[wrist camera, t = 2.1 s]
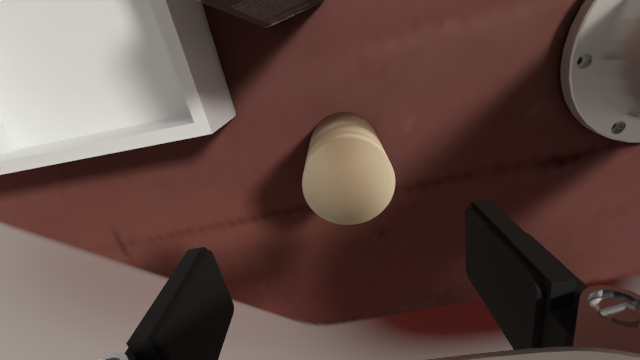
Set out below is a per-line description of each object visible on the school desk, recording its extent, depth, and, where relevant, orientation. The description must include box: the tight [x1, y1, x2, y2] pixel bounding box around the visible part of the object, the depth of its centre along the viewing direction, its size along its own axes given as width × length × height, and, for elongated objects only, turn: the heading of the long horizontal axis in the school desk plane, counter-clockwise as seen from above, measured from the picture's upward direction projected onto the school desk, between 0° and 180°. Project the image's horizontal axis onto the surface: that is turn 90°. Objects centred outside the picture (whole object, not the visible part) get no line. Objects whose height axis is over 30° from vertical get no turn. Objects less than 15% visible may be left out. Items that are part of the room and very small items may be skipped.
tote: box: [0, 0, 236, 175], centre depth 18 cm, size 18×17×5 cm
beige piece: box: [302, 112, 395, 225], centre depth 20 cm, size 5×5×7 cm
